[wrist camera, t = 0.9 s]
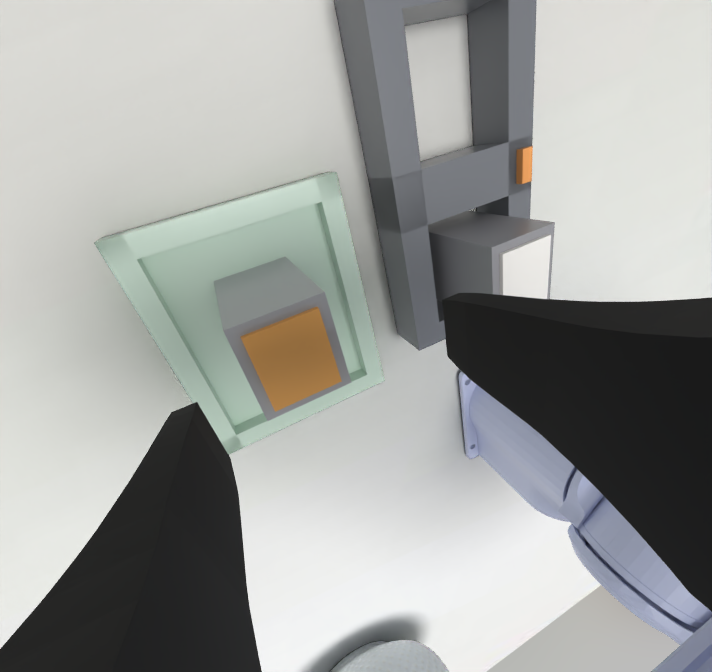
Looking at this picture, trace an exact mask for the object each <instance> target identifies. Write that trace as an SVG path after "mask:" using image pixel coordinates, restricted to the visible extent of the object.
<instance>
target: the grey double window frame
mask: <svg viewBox="0 0 712 672" xmlns="http://www.w3.org/2000/svg"><path fill="white" fill-rule="evenodd" d="M334 2H335V7H336V13H337V18H338V23H339V28H340V33H341V39H342V44H343V49H344V54H345V60H346V65H347V70H348V75H349V80H350V86H351V91H352V96H353V101H354V107H355V112H356V117H357V122H358V127H359V133H360V138H361V143H362V148H363V154H364V159H365V164H366V169H367V175H368V180H369V185H370V190H371V195H372V201H373V206H374V211H375V216H376V222H377V227H378V232H379V237H380V242H381V248H382V253H383V258H384V263H385V269H386V274H387V279H388V284H389V290H390V295H391V300H392V305H393V310H394V316H395V321H396V326H397V331H398V334H399V335H400V336H401V337H403V338H404V339H405V340H407V341H408V342H409V343H410V344H412V345H413V346H414V347H416V348H417V349H418V350H419V351H420V350H422V349H424V348H426V347H429V346H431V345H433V344H435V343H437V342H439V341H442V340H444V339H446V335H445V325H444V315H443V305H442V302H441V301H439V300H437V299H436V291H435V282H434V274H433V265H432V257H431V248H430V240H429V231H428V225H429V224H432V223H434V222H437V221H440V220H443V219H445V218H448V217H451V216H454V215H457V214H459V213H462V212H465V211H468V210H471V209H473V208H476V207H477V212H481V213H489V214H496V215H503V216H511V217H518V218H526V219H530V200H531V181H532V148H533V146H532V132H533V99H534V65H535V32H536V0H334ZM464 14H468V34H469V56H470V77H471V99H472V121H473V142H474V146H471V147H467V148H464V149H461V150H457V151H454V152H451V153H448V154H444V155H441V156H438V157H434V158H431V159H428V160H425V161H421V162H420V155H419V146H418V138H417V129H416V121H415V112H414V104H413V96H412V87H411V79H410V70H409V62H408V53H407V45H406V36H405V28H404V26H405V25H411V24H416V23H421V22H427V21H432V20H437V19H443V18H448V17H453V16H458V15H464Z"/></svg>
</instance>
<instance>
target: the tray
mask: <svg viewBox="0 0 712 672" xmlns="http://www.w3.org/2000/svg"><path fill="white" fill-rule="evenodd" d="M94 244H95V245H96V247H97V248H98V250H99V252H100V253H101V255H102V256H103V258H104V260H105V261H106V263H107V265H108V266H109V268H110V269H111V271H112V273H113V274H114V276H115V278H116V279H117V281H118V282H119V284H120V286H121V287H122V289H123V290H124V292H125V294H126V295H127V297H128V299H129V300H130V302H131V303H132V305H133V307H134V308H135V310H136V312H137V313H138V315H139V316H140V318H141V320H142V321H143V323H144V324H145V326H146V328H147V329H148V331H149V333H150V334H151V336H152V337H153V339H154V341H155V342H156V344H157V346H158V347H159V349H160V350H161V352H162V354H163V355H164V357H165V358H166V360H167V362H168V363H169V365H170V367H171V368H172V370H173V371H174V373H175V375H176V376H177V378H178V380H179V381H180V383H181V384H182V386H183V388H184V389H185V391H186V392H187V394H188V396H189V397H190V399H191V401H192V402H193V403H196V402H197V403H198V404H199V406H200V408H201V409H202V411H203V413H204V414H205V416H206V418H207V419H208V421H209V423H210V425H211V426H212V428H213V430H214V431H215V433H216V435H217V436H218V438H219V440H220V441H221V443H222V445H223V447H224V448H225V450H226V452H227V453H228V455H229V454H231V453H233V452H235V451H237V450H239V449H242V448H244V447H246V446H248V445H250V444H252V443H254V442H256V441H258V440H261V439H263V438H265V437H267V436H269V435H271V434H273V433H275V432H277V431H280V430H282V429H284V428H286V427H288V426H290V425H292V424H294V423H297V422H299V421H301V420H303V419H305V418H307V417H309V416H311V415H313V414H316V413H318V412H320V411H322V410H324V409H326V408H328V407H330V406H332V405H335V404H337V403H339V402H341V401H343V400H345V399H347V398H349V397H351V396H354V395H356V394H358V393H360V392H362V391H364V390H366V389H368V388H371V387H373V386H375V385H377V384H379V383H381V382H383V381H385V379H384V375H383V371H382V366H381V362H380V358H379V353H378V349H377V345H376V340H375V336H374V332H373V328H372V323H371V319H370V315H369V310H368V306H367V302H366V297H365V293H364V289H363V285H362V280H361V276H360V272H359V267H358V263H357V259H356V255H355V250H354V246H353V242H352V237H351V233H350V229H349V224H348V220H347V216H346V212H345V207H344V203H343V199H342V194H341V190H340V186H339V181H338V177H337V173H336V172H326V173H323V174H320V175H316V176H313V177H309V178H306V179H302V180H299V181H296V182H292V183H289V184H285V185H282V186H278V187H275V188H271V189H268V190H265V191H261V192H258V193H254V194H251V195H247V196H244V197H241V198H237V199H234V200H230V201H227V202H223V203H220V204H216V205H213V206H210V207H206V208H203V209H199V210H196V211H192V212H189V213H186V214H182V215H179V216H175V217H172V218H168V219H165V220H161V221H158V222H155V223H151V224H148V225H144V226H141V227H137V228H134V229H131V230H127V231H124V232H120V233H117V234H113V235H110V236H106V237H103V238H101V239H99V240H98V241H96V242H95V243H94ZM282 257H286V258H288V259H289V260H290V261H291V262H292V263H293V264H294V265H295V266H296V267H298V268H299V269H300V270H301V271H302V272H303V273H304V274H305V275H306V276H308V277H309V278H310V279H311V280H312V281H313V282H314V283H315V284H317V285H318V286H319V287H320V288H321V289H322V290H323V291H324V292H325V295H326V298H327V301H328V305H329V308H330V311H331V315H332V318H333V322H334V325H335V328H336V332H337V335H338V338H339V342H340V345H341V349H342V352H343V355H344V359H345V362H346V365H347V369H348V372H349V376H350V379H351V382H352V383H349V384H347V385H345V386H343V387H341V388H339V389H336V390H334V391H332V392H330V393H328V394H326V395H323V396H321V397H319V398H317V399H315V400H313V401H310V402H308V403H306V404H304V405H302V406H300V407H297V408H295V409H293V410H291V411H289V412H287V413H284V414H282V415H280V416H278V417H276V418H274V419H271V420H269V421H267V419H266V417H265V415H264V413H263V411H262V409H261V407H260V405H259V403H258V401H257V399H256V397H255V395H254V393H253V391H252V389H251V387H250V384H249V382H248V380H247V378H246V376H245V374H244V372H243V370H242V368H241V366H240V364H239V362H238V360H237V358H236V356H235V354H234V352H233V350H232V348H231V346H230V344H229V342H228V340H227V338H226V335H225V333H224V331H223V327H222V322H221V317H220V312H219V307H218V301H217V296H216V291H215V286H214V281H216V280H219V279H222V278H224V277H227V276H230V275H233V274H236V273H239V272H242V271H245V270H248V269H251V268H253V267H256V266H259V265H262V264H265V263H268V262H271V261H274V260H277V259H280V258H282Z"/></svg>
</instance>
